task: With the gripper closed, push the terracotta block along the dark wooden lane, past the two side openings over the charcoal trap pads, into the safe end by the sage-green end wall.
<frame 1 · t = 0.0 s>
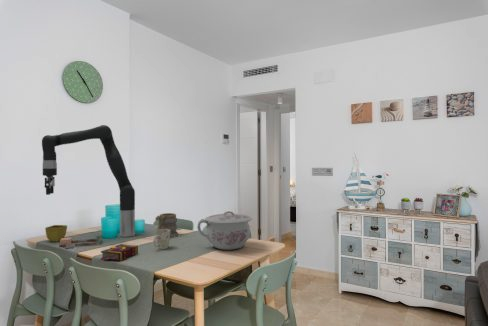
hand: (49, 194, 197), 29 cm above the table, tool pointing down, fingers open, 8 cm apart
mug: (160, 249, 180), on the table
tankard: (164, 236, 210), on the table
decorative book: (119, 257, 165), on the table
chamber pot: (228, 247, 184), on the table
flower pot: (56, 241, 198), on the table
terracotta block: (65, 245, 188), on the table
trap pads: (81, 244, 191), on the table
lane: (81, 244, 191), on the table
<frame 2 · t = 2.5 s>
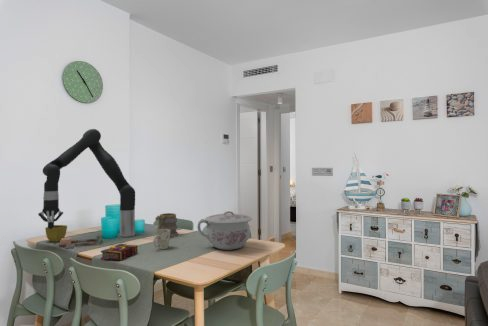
hand: (50, 228, 185), 10 cm above the table, tool pointing down, fingers closed
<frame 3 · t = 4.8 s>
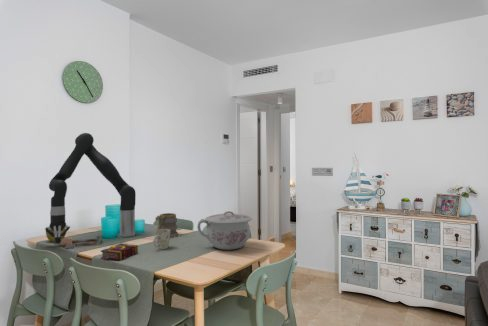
hand: (57, 243, 186), 1 cm above the table, tool pointing down, fingers closed
terracotta block: (66, 245, 188), on the table, touching gripper
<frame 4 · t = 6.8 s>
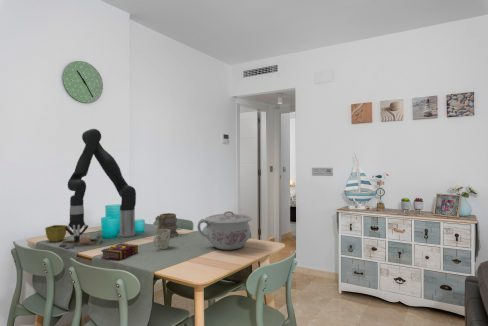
hand: (76, 241, 190), 1 cm above the table, tool pointing down, fingers closed
terracotta block: (85, 243, 191), on the table, touching gripper
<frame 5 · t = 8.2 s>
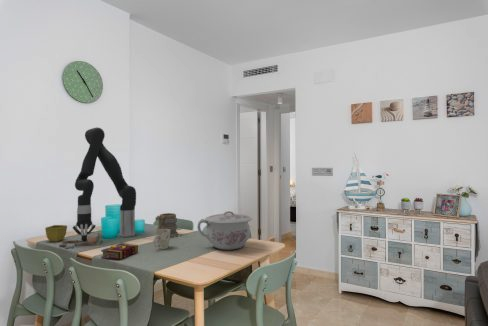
hand: (84, 241, 191), 2 cm above the table, tool pointing down, fingers closed
terracotta block: (92, 243, 192), on the table, touching gripper
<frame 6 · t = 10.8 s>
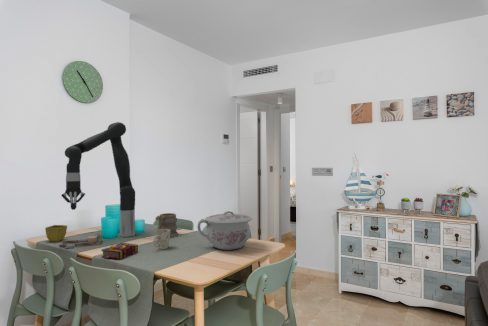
hand: (73, 209, 189), 21 cm above the table, tool pointing down, fingers closed
terracotta block: (92, 243, 192), on the table
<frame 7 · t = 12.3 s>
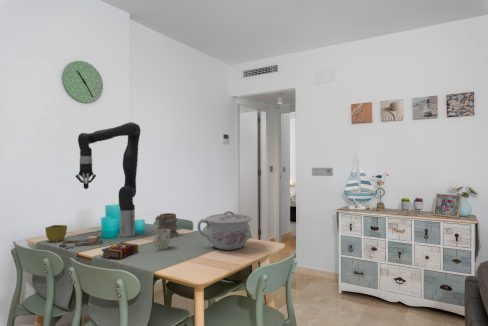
hand: (86, 189, 213), 31 cm above the table, tool pointing down, fingers closed
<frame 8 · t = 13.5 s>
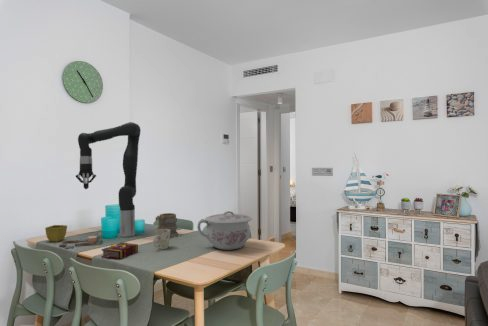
hand: (86, 189, 213), 31 cm above the table, tool pointing down, fingers closed
at the end: terracotta block 1.2 cm from the target spot, on the table; terracotta block tilted 0°; terracotta block moved 14.4 cm from its start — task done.
